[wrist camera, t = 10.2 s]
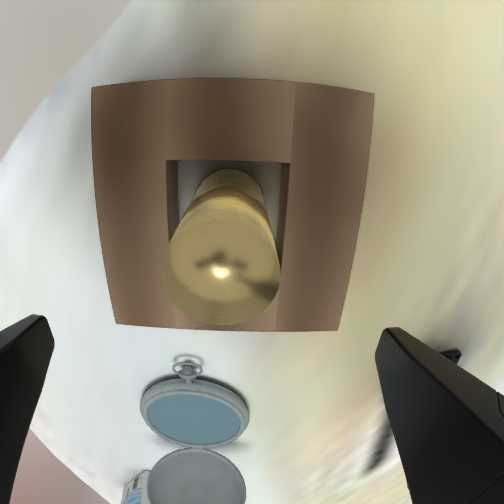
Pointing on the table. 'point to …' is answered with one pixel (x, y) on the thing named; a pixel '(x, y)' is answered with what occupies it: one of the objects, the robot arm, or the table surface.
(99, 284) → the table surface
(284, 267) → the jig block
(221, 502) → the pocket watch
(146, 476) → the light bulb box
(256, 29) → the table surface
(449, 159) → the table surface
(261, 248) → the gold cylinder
